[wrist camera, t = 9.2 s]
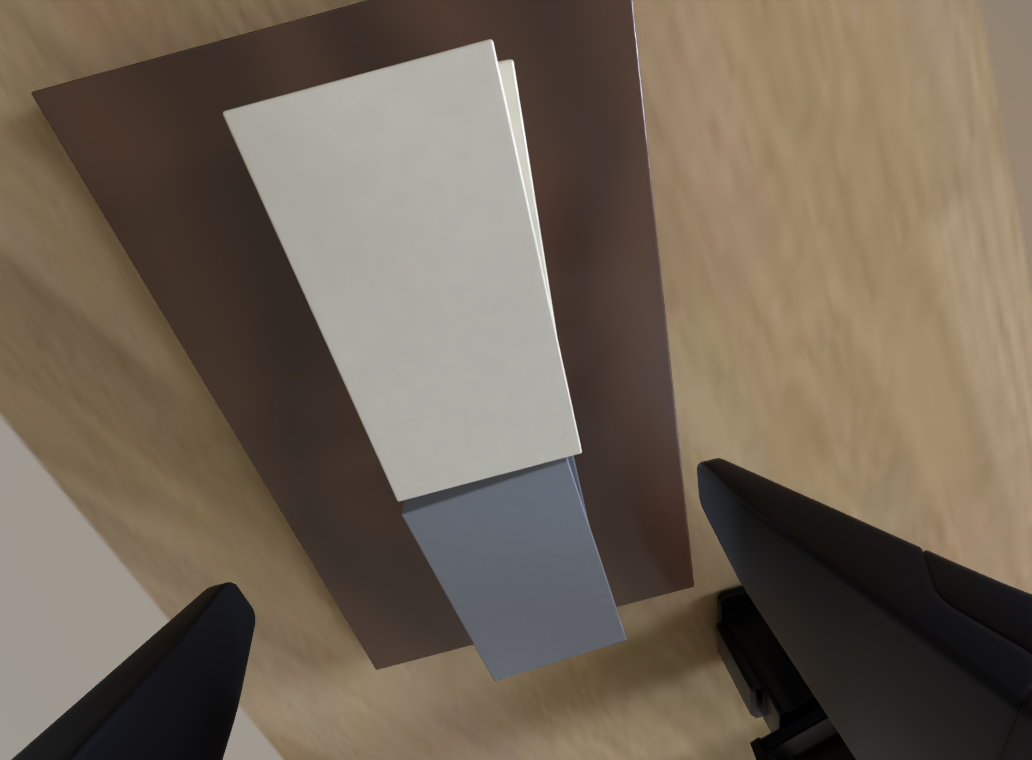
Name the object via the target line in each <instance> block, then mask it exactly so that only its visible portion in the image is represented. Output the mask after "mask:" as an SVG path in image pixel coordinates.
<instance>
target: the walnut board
mask: <svg viewBox="0 0 1032 760" xmlns="http://www.w3.org/2000/svg"><path fill="white" fill-rule="evenodd" d="M488 39H491V40H492V41H493V43H494V47H495V52H496V56H497V61H498V62H499V61H504V60H509V59H511V60H513V62H514V67H515V73H516V80H517V86H518V92H519V98H520V105H521V111H522V117H523V124H524V130H525V136H526V143H527V149H528V155H529V162H530V168H531V174H532V181H533V187H534V193H535V200H536V206H537V212H538V219H539V225H540V231H541V237H542V244H543V250H544V256H545V263H546V269H547V275H548V282H549V288H550V294H551V301H552V307H553V313H554V320H555V326H556V332H557V338H558V343H559V347H560V352H561V357H562V361H563V366H564V370H565V375H566V380H567V384H568V389H569V394H570V398H571V403H572V407H573V412H574V417H575V421H576V426H577V430H578V435H579V440H580V444H581V449H582V453H580V454H576V455H573V456H574V460H575V465H576V469H577V474H578V478H579V482H580V487H581V491H582V496H583V500H584V504H585V509H586V513H587V518H588V522H589V526H590V529H591V532H592V535H593V538H594V541H595V544H596V547H597V550H598V553H599V556H600V559H601V562H602V565H603V568H604V571H605V575H606V578H607V581H608V584H609V587H610V590H611V593H612V596H613V599H614V602H615V605H616V607H618V606H622V605H625V604H629V603H633V602H637V601H641V600H644V599H648V598H652V597H656V596H660V595H663V594H667V593H671V592H675V591H679V590H682V589H686V588H690V587H693V586H694V581H693V571H692V562H691V552H690V543H689V533H688V524H687V514H686V505H685V495H684V486H683V476H682V467H681V457H680V448H679V438H678V429H677V419H676V410H675V400H674V391H673V381H672V372H671V362H670V353H669V343H668V334H667V324H666V315H665V305H664V296H663V286H662V277H661V267H660V258H659V248H658V239H657V229H656V220H655V210H654V201H653V191H652V182H651V172H650V163H649V153H648V144H647V134H646V125H645V115H644V106H643V96H642V87H641V77H640V68H639V58H638V49H637V39H636V30H635V20H634V11H633V1H632V0H367V1H364V2H360V3H356V4H353V5H349V6H345V7H342V8H338V9H334V10H331V11H327V12H323V13H320V14H316V15H312V16H308V17H305V18H301V19H297V20H294V21H290V22H286V23H283V24H279V25H275V26H272V27H268V28H264V29H261V30H257V31H253V32H250V33H246V34H242V35H239V36H235V37H231V38H228V39H224V40H220V41H217V42H213V43H209V44H206V45H202V46H198V47H195V48H191V49H187V50H184V51H180V52H176V53H173V54H169V55H165V56H161V57H158V58H154V59H150V60H147V61H143V62H139V63H136V64H132V65H128V66H125V67H121V68H117V69H114V70H110V71H106V72H103V73H99V74H95V75H92V76H88V77H84V78H81V79H77V80H73V81H70V82H66V83H62V84H59V85H55V86H51V87H48V88H44V89H40V90H37V91H33V92H32V96H33V97H34V99H35V101H36V102H37V104H38V106H39V107H40V109H41V111H42V112H43V114H44V116H45V117H46V119H47V121H48V122H49V124H50V126H51V127H52V129H53V131H54V132H55V134H56V136H57V137H58V139H59V141H60V142H61V144H62V146H63V147H64V149H65V151H66V152H67V154H68V156H69V157H70V159H71V161H72V162H73V164H74V166H75V167H76V169H77V171H78V172H79V174H80V176H81V177H82V179H83V181H84V182H85V184H86V186H87V187H88V189H89V191H90V192H91V194H92V196H93V197H94V199H95V201H96V202H97V204H98V206H99V207H100V209H101V211H102V212H103V214H104V216H105V218H106V219H107V221H108V223H109V224H110V226H111V228H112V229H113V231H114V233H115V234H116V236H117V238H118V239H119V241H120V243H121V244H122V246H123V248H124V249H125V251H126V253H127V254H128V256H129V258H130V259H131V261H132V263H133V264H134V266H135V268H136V269H137V271H138V273H139V274H140V276H141V278H142V279H143V281H144V283H145V284H146V286H147V288H148V289H149V291H150V293H151V294H152V296H153V298H154V299H155V301H156V303H157V304H158V306H159V308H160V309H161V311H162V313H163V314H164V316H165V318H166V319H167V321H168V323H169V324H170V326H171V328H172V329H173V331H174V333H175V334H176V336H177V338H178V339H179V341H180V343H181V344H182V346H183V348H184V349H185V351H186V353H187V354H188V356H189V358H190V359H191V361H192V363H193V365H194V366H195V368H196V370H197V371H198V373H199V375H200V376H201V378H202V380H203V381H204V383H205V385H206V386H207V388H208V390H209V391H210V393H211V395H212V396H213V398H214V400H215V401H216V403H217V405H218V406H219V408H220V410H221V411H222V413H223V415H224V416H225V418H226V420H227V421H228V423H229V425H230V426H231V428H232V430H233V431H234V433H235V435H236V436H237V438H238V440H239V441H240V443H241V445H242V446H243V448H244V450H245V451H246V453H247V455H248V456H249V458H250V460H251V461H252V463H253V465H254V466H255V468H256V470H257V471H258V473H259V475H260V476H261V478H262V480H263V481H264V483H265V485H266V486H267V488H268V490H269V491H270V493H271V495H272V496H273V498H274V500H275V501H276V503H277V505H278V506H279V508H280V510H281V512H282V513H283V515H284V517H285V518H286V520H287V522H288V523H289V525H290V527H291V528H292V530H293V532H294V533H295V535H296V537H297V538H298V540H299V542H300V543H301V545H302V547H303V548H304V550H305V552H306V553H307V555H308V557H309V558H310V560H311V562H312V563H313V565H314V567H315V568H316V570H317V572H318V573H319V575H320V577H321V578H322V580H323V582H324V583H325V585H326V587H327V588H328V590H329V592H330V593H331V595H332V597H333V598H334V600H335V602H336V603H337V605H338V607H339V608H340V610H341V612H342V613H343V615H344V617H345V618H346V620H347V622H348V623H349V625H350V627H351V628H352V630H353V632H354V633H355V635H356V637H357V638H358V640H359V642H360V643H361V645H362V647H363V648H364V650H365V652H366V653H367V655H368V657H369V658H370V660H371V662H372V664H373V665H374V667H375V669H376V670H378V669H382V668H385V667H389V666H393V665H397V664H401V663H404V662H408V661H412V660H416V659H420V658H424V657H427V656H431V655H435V654H439V653H443V652H446V651H450V650H454V649H458V648H462V647H465V646H469V645H473V642H472V640H471V638H470V636H469V635H468V633H467V631H466V629H465V627H464V626H463V624H462V622H461V620H460V618H459V617H458V615H457V613H456V611H455V609H454V608H453V606H452V604H451V602H450V600H449V599H448V597H447V595H446V593H445V592H444V590H443V588H442V586H441V584H440V583H439V581H438V579H437V577H436V575H435V574H434V572H433V570H432V568H431V566H430V565H429V563H428V561H427V559H426V557H425V556H424V554H423V552H422V550H421V548H420V547H419V545H418V543H417V541H416V540H415V538H414V536H413V534H412V532H411V531H410V529H409V527H408V525H407V523H406V522H405V520H404V518H403V516H402V510H403V504H404V500H403V501H397V499H396V497H395V495H394V492H393V490H392V488H391V486H390V483H389V481H388V479H387V477H386V475H385V472H384V470H383V468H382V466H381V464H380V461H379V459H378V457H377V455H376V452H375V450H374V448H373V446H372V444H371V441H370V439H369V437H368V435H367V433H366V430H365V428H364V426H363V424H362V421H361V419H360V417H359V415H358V413H357V410H356V408H355V406H354V404H353V402H352V399H351V397H350V395H349V393H348V391H347V388H346V386H345V384H344V382H343V379H342V377H341V375H340V373H339V371H338V368H337V366H336V364H335V362H334V360H333V357H332V355H331V353H330V351H329V348H328V346H327V344H326V342H325V340H324V337H323V335H322V333H321V331H320V329H319V326H318V324H317V322H316V320H315V317H314V315H313V313H312V311H311V309H310V306H309V304H308V302H307V300H306V298H305V295H304V293H303V291H302V289H301V286H300V284H299V282H298V280H297V278H296V275H295V273H294V271H293V269H292V267H291V264H290V262H289V260H288V258H287V255H286V253H285V251H284V249H283V247H282V244H281V242H280V240H279V238H278V236H277V233H276V231H275V229H274V227H273V224H272V222H271V220H270V218H269V216H268V213H267V211H266V209H265V207H264V205H263V202H262V200H261V198H260V196H259V193H258V191H257V189H256V187H255V185H254V182H253V180H252V178H251V176H250V174H249V171H248V169H247V167H246V165H245V162H244V160H243V158H242V156H241V154H240V151H239V149H238V147H237V145H236V143H235V140H234V138H233V136H232V134H231V131H230V129H229V127H228V125H227V123H226V120H225V118H224V116H223V112H224V111H227V110H230V109H234V108H238V107H241V106H245V105H249V104H252V103H256V102H260V101H263V100H267V99H271V98H275V97H278V96H282V95H286V94H289V93H293V92H297V91H300V90H304V89H308V88H311V87H315V86H319V85H322V84H326V83H330V82H334V81H337V80H341V79H345V78H348V77H352V76H356V75H359V74H363V73H367V72H370V71H374V70H378V69H381V68H385V67H389V66H393V65H396V64H400V63H404V62H407V61H411V60H415V59H418V58H422V57H426V56H429V55H433V54H437V53H440V52H444V51H448V50H452V49H455V48H459V47H463V46H466V45H470V44H474V43H477V42H481V41H485V40H488Z"/></svg>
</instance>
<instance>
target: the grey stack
mask: <svg viewBox="0 0 1032 760" xmlns="http://www.w3.org/2000/svg"><path fill="white" fill-rule="evenodd" d="M402 516H403V518H404V520H405V522H406V523H407V525H408V527H409V529H410V531H411V532H412V534H413V536H414V538H415V540H416V541H417V543H418V545H419V547H420V548H421V550H422V552H423V554H424V556H425V557H426V559H427V561H428V563H429V565H430V566H431V568H432V570H433V572H434V574H435V575H436V577H437V579H438V581H439V583H440V584H441V586H442V588H443V590H444V592H445V593H446V595H447V597H448V599H449V600H450V602H451V604H452V606H453V608H454V609H455V611H456V613H457V615H458V617H459V618H460V620H461V622H462V624H463V626H464V627H465V629H466V631H467V633H468V635H469V636H470V638H471V640H472V642H473V644H474V645H475V647H476V649H477V651H478V652H479V654H480V656H481V658H482V660H483V661H484V663H485V665H486V667H487V669H488V670H489V672H490V674H491V676H492V678H493V679H494V681H497V680H500V679H503V678H507V677H510V676H513V675H516V674H519V673H523V672H526V671H529V670H532V669H536V668H539V667H542V666H545V665H548V664H552V663H555V662H558V661H561V660H564V659H568V658H571V657H574V656H577V655H581V654H584V653H587V652H590V651H593V650H597V649H600V648H603V647H606V646H610V645H613V644H616V643H619V642H622V641H626V636H625V633H624V630H623V627H622V623H621V620H620V617H619V614H618V611H617V608H616V605H615V602H614V599H613V596H612V593H611V590H610V587H609V584H608V581H607V578H606V575H605V571H604V568H603V565H602V562H601V559H600V556H599V553H598V550H597V547H596V544H595V541H594V538H593V535H592V532H591V529H590V526H589V522H588V518H587V513H586V509H585V504H584V500H583V496H582V491H581V487H580V482H579V478H578V474H577V469H576V465H575V460H574V456H569V457H565V458H561V459H557V460H554V461H550V462H546V463H542V464H539V465H535V466H531V467H527V468H524V469H520V470H516V471H512V472H508V473H505V474H501V475H497V476H493V477H490V478H486V479H482V480H478V481H474V482H471V483H467V484H463V485H459V486H456V487H452V488H448V489H444V490H440V491H437V492H433V493H429V494H425V495H422V496H418V497H414V498H410V499H407V500H404V504H403V510H402Z"/></svg>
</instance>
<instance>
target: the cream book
mask: <svg viewBox="0 0 1032 760" xmlns="http://www.w3.org/2000/svg"><path fill="white" fill-rule="evenodd" d="M223 116H224V118H225V120H226V123H227V125H228V127H229V129H230V131H231V134H232V136H233V138H234V140H235V143H236V145H237V147H238V149H239V151H240V154H241V156H242V158H243V160H244V162H245V165H246V167H247V169H248V171H249V174H250V176H251V178H252V180H253V182H254V185H255V187H256V189H257V191H258V193H259V196H260V198H261V200H262V202H263V205H264V207H265V209H266V211H267V213H268V216H269V218H270V220H271V222H272V224H273V227H274V229H275V231H276V233H277V236H278V238H279V240H280V242H281V244H282V247H283V249H284V251H285V253H286V255H287V258H288V260H289V262H290V264H291V267H292V269H293V271H294V273H295V275H296V278H297V280H298V282H299V284H300V286H301V289H302V291H303V293H304V295H305V298H306V300H307V302H308V304H309V306H310V309H311V311H312V313H313V315H314V317H315V320H316V322H317V324H318V326H319V329H320V331H321V333H322V335H323V337H324V340H325V342H326V344H327V346H328V348H329V351H330V353H331V355H332V357H333V360H334V362H335V364H336V366H337V368H338V371H339V373H340V375H341V377H342V379H343V382H344V384H345V386H346V388H347V391H348V393H349V395H350V397H351V399H352V402H353V404H354V406H355V408H356V410H357V413H358V415H359V417H360V419H361V421H362V424H363V426H364V428H365V430H366V433H367V435H368V437H369V439H370V441H371V444H372V446H373V448H374V450H375V452H376V455H377V457H378V459H379V461H380V464H381V466H382V468H383V470H384V472H385V475H386V477H387V479H388V481H389V483H390V486H391V488H392V490H393V492H394V495H395V497H396V499H397V501H403V500H407V499H410V498H414V497H418V496H422V495H425V494H429V493H433V492H437V491H440V490H444V489H448V488H452V487H456V486H459V485H463V484H467V483H471V482H474V481H478V480H482V479H486V478H490V477H493V476H497V475H501V474H505V473H508V472H512V471H516V470H520V469H524V468H527V467H531V466H535V465H539V464H542V463H546V462H550V461H554V460H557V459H561V458H565V457H569V456H573V455H576V454H580V453H582V449H581V444H580V440H579V435H578V430H577V426H576V421H575V417H574V412H573V407H572V403H571V398H570V394H569V389H568V384H567V380H566V375H565V370H564V366H563V361H562V357H561V352H560V347H559V343H558V338H557V333H556V329H555V324H554V320H553V315H552V310H551V306H550V301H549V297H548V292H547V287H546V283H545V278H544V273H543V269H542V264H541V260H540V255H539V250H538V246H537V241H536V236H535V232H534V227H533V223H532V218H531V213H530V209H529V204H528V200H527V195H526V190H525V186H524V181H523V176H522V172H521V167H520V163H519V158H518V153H517V149H516V144H515V140H514V135H513V130H512V126H511V121H510V116H509V112H508V107H507V103H506V98H505V93H504V89H503V84H502V79H501V75H500V70H499V66H498V61H497V56H496V52H495V47H494V43H493V41H492V40H491V39H488V40H485V41H481V42H477V43H474V44H470V45H466V46H463V47H459V48H455V49H452V50H448V51H444V52H440V53H437V54H433V55H429V56H426V57H422V58H418V59H415V60H411V61H407V62H404V63H400V64H396V65H393V66H389V67H385V68H381V69H378V70H374V71H370V72H367V73H363V74H359V75H356V76H352V77H348V78H345V79H341V80H337V81H334V82H330V83H326V84H322V85H319V86H315V87H311V88H308V89H304V90H300V91H297V92H293V93H289V94H286V95H282V96H278V97H275V98H271V99H267V100H263V101H260V102H256V103H252V104H249V105H245V106H241V107H238V108H234V109H230V110H227V111H224V112H223Z"/></svg>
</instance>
